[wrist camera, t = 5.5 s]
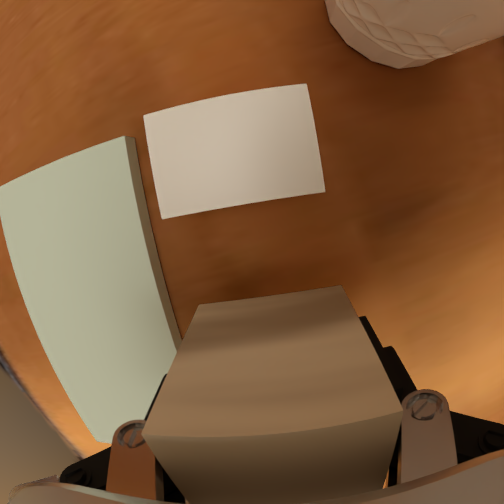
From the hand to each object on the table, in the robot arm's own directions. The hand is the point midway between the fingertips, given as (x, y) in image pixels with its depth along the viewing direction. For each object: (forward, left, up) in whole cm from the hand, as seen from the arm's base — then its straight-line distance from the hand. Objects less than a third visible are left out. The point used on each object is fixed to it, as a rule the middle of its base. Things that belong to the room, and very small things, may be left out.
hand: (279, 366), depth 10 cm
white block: (-8, 0, -6) cm, 10 cm away
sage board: (0, -11, -6) cm, 12 cm away
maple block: (0, 0, -1) cm, 1 cm away
